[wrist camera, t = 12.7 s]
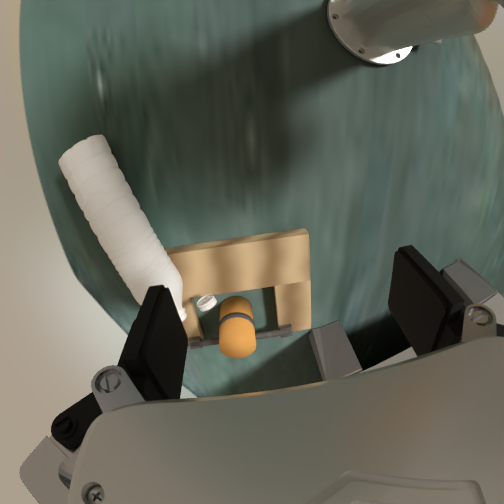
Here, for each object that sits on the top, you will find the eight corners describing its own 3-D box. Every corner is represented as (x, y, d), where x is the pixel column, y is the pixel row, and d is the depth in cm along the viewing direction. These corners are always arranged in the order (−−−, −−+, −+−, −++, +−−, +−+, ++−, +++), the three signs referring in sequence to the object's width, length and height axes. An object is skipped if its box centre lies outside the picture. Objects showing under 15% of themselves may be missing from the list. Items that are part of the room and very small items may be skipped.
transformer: (453, 359, 58) (522, 476, 21) (342, 415, 61) (383, 555, 25) (462, 254, 43) (603, 406, 7) (305, 331, 47) (375, 576, 10)
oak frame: (304, 228, 38) (310, 237, 36) (308, 320, 46) (312, 333, 43) (144, 252, 38) (138, 262, 35) (174, 338, 45) (172, 351, 43)
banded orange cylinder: (250, 293, 42) (254, 329, 35) (254, 319, 45) (258, 356, 38) (216, 297, 42) (214, 334, 35) (222, 323, 45) (222, 360, 37)
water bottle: (70, 163, 31) (162, 318, 39) (48, 163, 25) (157, 343, 33) (124, 127, 31) (215, 291, 40) (110, 118, 25) (218, 312, 33)
